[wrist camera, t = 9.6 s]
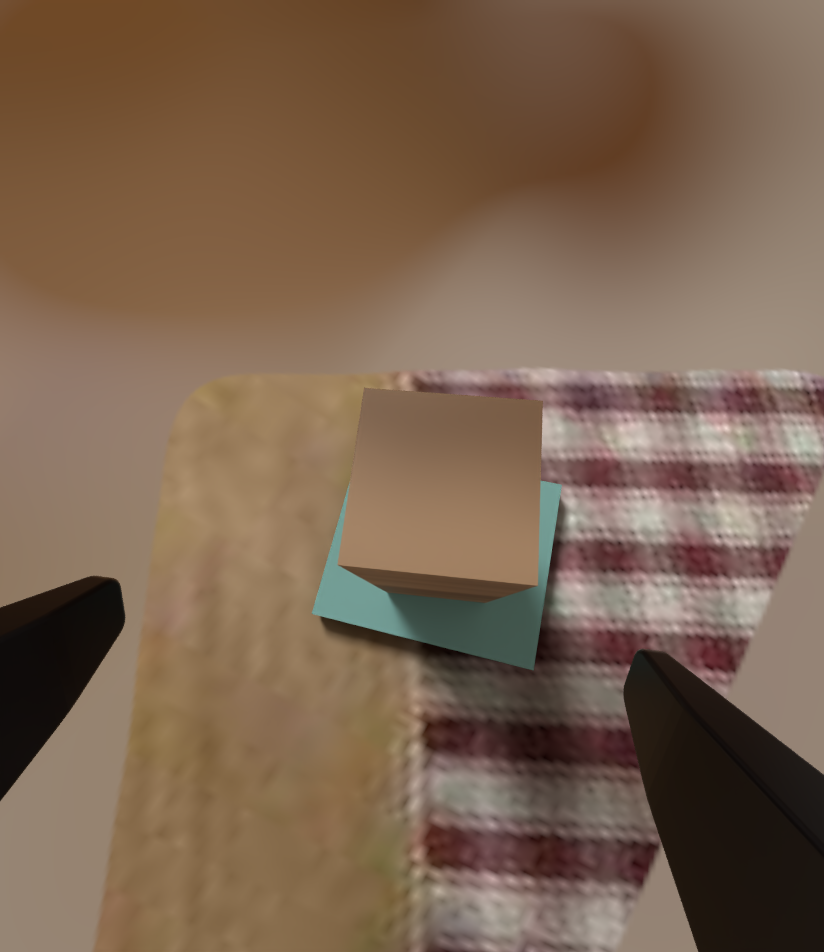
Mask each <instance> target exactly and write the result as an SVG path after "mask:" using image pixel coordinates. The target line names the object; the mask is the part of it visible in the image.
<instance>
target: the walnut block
mask: <svg viewBox="0 0 824 952" xmlns="http://www.w3.org/2000/svg"><path fill="white" fill-rule="evenodd" d="M542 408H543V401H537V400H523V399H510V398H496V397H482V396H468V395H455V394H441V393H427V392H414V391H400V390H386V389H372V388H364V392H363V399H362V405H361V412H360V419H359V425H358V432H357V439H356V445H355V452H354V458H353V465H352V472H351V478H350V485H349V492H348V498H347V505H346V511H345V518H344V525H343V531H342V538H341V545H340V551H339V558H338V564H337V565H338V566H340V567H342V568H344V569H345V570H347V571H349V572H351V573H353V574H354V575H356V576H358V577H360V578H362V579H364V580H365V581H367V582H369V583H371V584H373V585H374V586H376V587H378V588H380V589H382V590H383V591H385V592H387V593H397V594H406V595H415V596H425V597H434V598H443V599H453V600H462V601H471V602H481V603H487V602H490V601H493V600H496V599H499V598H502V597H505V596H508V595H511V594H514V593H517V592H520V591H523V590H526V589H529V588H532V587H536V586H538V562H539V523H540V485H541V446H542Z"/></svg>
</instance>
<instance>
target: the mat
mask: <svg viewBox="0 0 824 952" xmlns="http://www.w3.org/2000/svg"><path fill="white" fill-rule="evenodd" d="M349 485H350V483H349ZM561 487H562V485H559V484H555V483H550V482H545V481H541V485H540V523H539V562H538V586H536V587H532V588H529V589H526V590H523V591H520V592H517V593H514V594H511V595H508V596H505V597H502V598H499V599H496V600H493V601H490V602H487V603H481V602H471V601H462V600H453V599H443V598H434V597H425V596H415V595H406V594H397V593H387V592H385V591H383V590H382V589H380V588H378V587H376V586H374V585H373V584H371V583H369V582H367V581H365V580H364V579H362V578H360V577H358V576H356V575H354V574H353V573H351V572H349V571H347V570H345V569H344V568H342V567H340V566H338V565H337V564H338V558H339V551H340V545H341V538H342V531H343V525H344V518H345V511H346V505H347V498H348V492H349V486H348V490H347V493H346V497H345V500H344V504H343V507H342V511H341V514H340V518H339V521H338V525H337V528H336V531H335V535H334V538H333V542H332V545H331V549H330V552H329V556H328V559H327V563H326V566H325V570H324V573H323V577H322V580H321V584H320V587H319V591H318V594H317V597H316V601H315V604H314V608H313V611H312V614H314V615H318V616H322V617H326V618H330V619H334V620H338V621H342V622H346V623H350V624H354V625H357V626H361V627H365V628H369V629H373V630H377V631H381V632H385V633H389V634H393V635H397V636H401V637H404V638H408V639H412V640H416V641H420V642H424V643H428V644H432V645H436V646H440V647H444V648H447V649H451V650H455V651H459V652H463V653H467V654H471V655H475V656H479V657H483V658H487V659H491V660H494V661H498V662H502V663H506V664H510V665H514V666H518V667H522V668H526V669H530V670H534V664H535V658H536V651H537V645H538V638H539V632H540V625H541V618H542V612H543V605H544V599H545V592H546V585H547V579H548V572H549V566H550V559H551V552H552V546H553V539H554V533H555V526H556V519H557V513H558V506H559V500H560V493H561Z"/></svg>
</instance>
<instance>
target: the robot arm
mask: <svg viewBox="0 0 824 952" xmlns="http://www.w3.org/2000/svg"><path fill="white" fill-rule="evenodd" d="M124 623H125V611H124V604H123V598H122V592H121V586H120V583H119V582H118V581H117V580H116V579H114V578H109V577H102V576H90V577H86V578H83V579H81V580H78V581H75V582H72V583H69V584H66V585H64V586H61V587H58V588H55V589H52V590H49V591H46V592H43V593H41V594H38V595H35V596H32V597H29V598H26V599H23V600H21V601H18V602H15V603H12V604H9V605H6V606H3V607H1V608H0V801H1V800H2V798H3V797H4V795H6V793H7V792H8V791H9V789H10V788H11V787H12V786H13V784H14V783H15V782H16V780H17V779H18V778H19V776H20V775H21V774H22V773H23V771H24V770H25V769H26V767H27V766H28V765H29V764H30V762H31V761H32V760H33V758H34V757H35V756H36V754H37V753H38V752H39V751H40V749H41V748H42V747H43V746H44V744H45V743H46V742H47V740H48V739H49V738H50V736H51V735H52V734H53V733H54V731H55V730H56V729H57V727H58V726H59V725H60V723H61V722H62V721H63V719H64V718H65V717H66V715H67V714H68V713H69V711H70V710H71V708H72V707H73V705H74V704H75V702H76V701H77V700H78V698H79V697H80V695H81V693H82V692H83V690H84V689H85V687H86V686H87V684H88V683H89V681H90V679H91V678H92V676H93V675H94V673H95V671H96V670H97V668H98V667H99V665H100V664H101V662H102V661H103V659H104V658H105V656H106V654H107V653H108V651H109V649H110V648H111V647H112V645H113V643H114V642H115V640H116V639H117V637H118V636H119V634H120V633H121V631H122V629H123V626H124ZM623 695H624V702H625V707H626V711H627V715H628V720H629V724H630V728H631V733H632V737H633V741H634V746H635V750H636V754H637V759H638V763H639V768H640V772H641V776H642V780H643V784H644V788H645V792H646V796H647V799H648V802H649V806H650V809H651V812H652V815H653V818H654V821H655V824H656V827H657V830H658V833H659V836H660V839H661V842H662V845H663V848H664V851H665V854H666V857H667V860H668V863H669V866H670V868H671V872H672V875H673V878H674V880H675V884H676V887H677V890H678V893H679V896H680V898H681V902H682V904H683V907H684V911H685V913H686V916H687V919H688V922H689V925H690V928H691V931H692V934H693V937H694V940H695V943H696V946H697V949H698V952H824V775H823V774H822V773H821V772H820V771H818V770H817V769H816V768H814V767H813V766H812V765H811V764H809V763H808V762H807V761H805V760H804V759H803V758H801V757H800V756H799V755H798V754H796V753H795V752H794V751H792V750H791V749H790V748H789V747H787V746H786V745H785V744H783V743H782V742H781V741H779V740H778V739H777V738H776V737H774V736H773V735H772V734H770V733H769V732H768V731H767V730H765V729H764V728H763V727H761V726H760V725H759V724H758V723H756V722H755V721H754V720H752V719H751V718H750V717H749V716H747V715H746V714H745V713H743V712H742V711H741V710H740V709H738V708H737V707H736V706H734V705H733V704H732V703H730V702H729V701H728V700H727V699H725V698H724V697H723V696H721V695H720V694H719V693H718V692H716V691H715V690H714V689H712V688H711V687H710V686H709V685H707V684H706V683H705V682H703V681H702V680H701V679H699V678H698V677H697V676H696V675H694V674H693V673H692V672H690V671H689V670H688V669H687V668H685V667H684V666H683V665H681V664H680V663H679V662H678V661H676V660H675V659H674V658H672V657H671V656H670V655H668V654H667V653H665V652H662V651H656V650H648V649H640V650H638V651H637V652H636V654H635V656H634V659H633V661H632V664H631V667H630V670H629V673H628V676H627V679H626V682H625V685H624V693H623Z"/></svg>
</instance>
